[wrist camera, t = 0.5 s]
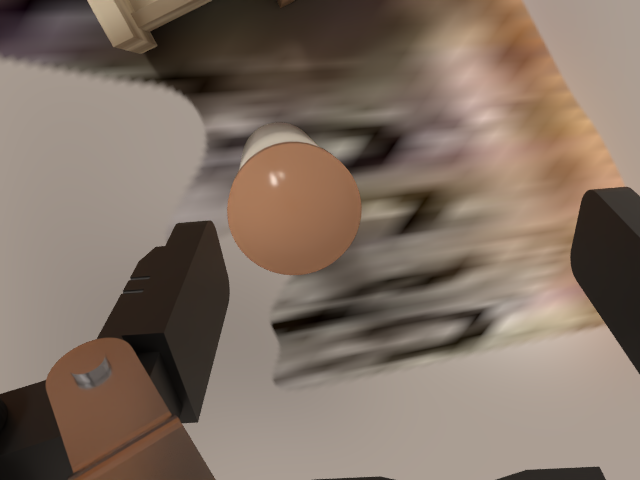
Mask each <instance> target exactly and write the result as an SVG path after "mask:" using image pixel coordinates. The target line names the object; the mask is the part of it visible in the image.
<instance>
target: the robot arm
mask: <svg viewBox="0 0 640 480" xmlns="http://www.w3.org/2000/svg"><path fill="white" fill-rule="evenodd" d="M570 258H571V268H572V272H573V275H574V277H575V279H576V281H577V282H578V283H579V285H580V286H581V288H582V289H583V291H584V292H585V294H586V295H587V297H588V298H589V300H590V301H591V303H592V304H593V306H594V307H595V309H596V310H597V312H598V313H599V315H600V316H601V318H602V319H603V321H604V322H605V323H606V325H607V326H608V328H609V329H610V331H611V332H612V334H613V335H614V337H615V338H616V340H617V341H618V343H619V344H620V346H621V347H622V349H623V350H624V352H625V353H626V355H627V356H628V358H629V359H630V361H631V362H632V363H633V365H634V366H635V368H636V369H637V371H638V372H639V374H640V196H639V195H638V194H637V193H635V192H634V191H633V190H632V189H631V188H629V187H618V188H606V189H594V190H588V191H587V192H586V193H585V194H584V196H583V198H582V201H581V205H580V210H579V215H578V220H577V224H576V229H575V234H574V239H573V243H572V248H571V256H570ZM130 278H131V280H129V281H128V283H127V285H126V286H125V288H124V290H123V294H121V295H120V297H119V299H118V301H117V303H116V305H115V306H114V308H113V311H112V312H111V314H110V316H109V317H108V319H107V321H106V323H105V325H104V327H103V329H102V330H101V332H100V334H99V336H98V338H97V339H96V340H92V341H89V342H86V343H84V344H82V345H80V346H78V347H76V348H74V349H73V350H71V351H70V352H68V353H67V354H65V355H64V356H63V357H62V358H61V359H59V360H58V361H57V362H56V364H55V365H54V366H53V367H52V369H51V371H50V372H49V374H48V377H47V379H46V380H45V381H42V382H39V383H35V384H32V385H29V386H25V387H22V388H19V389H16V390H12V391H9V392H6V393H3V394H0V480H215V478H214V476H213V475H212V473H211V472H210V470H209V468H208V466H207V465H206V463H205V461H204V460H203V458H202V457H201V455H200V453H199V452H198V450H197V448H196V446H195V445H194V443H193V441H192V440H191V438H190V436H189V435H188V433H187V431H186V430H185V428H184V426H183V425H182V423H195V422H198V420H199V416H200V412H201V408H202V404H203V400H204V396H205V393H206V389H207V385H208V381H209V377H210V373H211V369H212V365H213V361H214V358H215V354H216V350H217V346H218V342H219V338H220V334H221V330H222V327H223V322H224V319H225V315H226V311H227V307H228V303H229V294H230V293H229V280H228V274H227V270H226V266H225V263H224V259H223V255H222V251H221V247H220V243H219V240H218V236H217V232H216V228H215V226H214V224H213V222H212V221H198V222H186V223H178V224H176V225H175V227H174V229H173V231H172V233H171V235H170V237H169V239H168V241H167V243H166V246H161V247H155V248H154V249H153V250H152V251H151V252H149V253H148V254H147V255H146V256H145V257H144V258H142V259H141V260H140V261H139V262H138V264H137V266H136V268H135V270H134V272H133V274H132V275H131V277H130ZM317 480H394V479H389V478H384V477H360V478H340V479H317ZM497 480H606V479H605V477H604V475H603V473H602V471H601V469H600V467H582V468H559V469H537V470H525V471H522V472H519V473H516V474H512V475H509V476H506V477H503V478H500V479H497Z"/></svg>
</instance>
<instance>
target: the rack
mask: <svg viewBox="0 0 640 480" xmlns="http://www.w3.org/2000/svg"><path fill="white" fill-rule="evenodd" d="M294 1H296V0H277V2H278V4H279V6H280V8H282V7H284V6H286V5H288V4H290V3H292V2H294Z"/></svg>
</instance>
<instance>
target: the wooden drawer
mask: <svg viewBox="0 0 640 480" xmlns="http://www.w3.org/2000/svg"><path fill="white" fill-rule="evenodd" d="M87 1H88V3H89V5H90V6H91V8H92V10H93V12H94V13H95V15H96V17H97V19H98V21H99V22H100V24H101V26H102V28H103V29H104V31H105V33H106V35H107V36H108V38H109V40H110V42H111V43H112V45H113V47H115V48H119V49H123V50H127V51H131V52H135V53H139V54H142V53H144V52H146V51H148V50H150V49H152V48H154V47H156V46H158V45H157V44H156V42H155V40H154V38H153V36H152V34H151V32H150V31H152V30H154V29H156V28H158V27H160V26H162V25H164V24H166V23H168V22H170V21H172V20H174V19H176V18H178V17H180V16H182V15H184V14H186V13H188V12H190V11H192V10H194V9H196V8H198V7H200V6H202V5H204V4H206V3H208V2H210V1H212V0H87Z"/></svg>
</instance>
